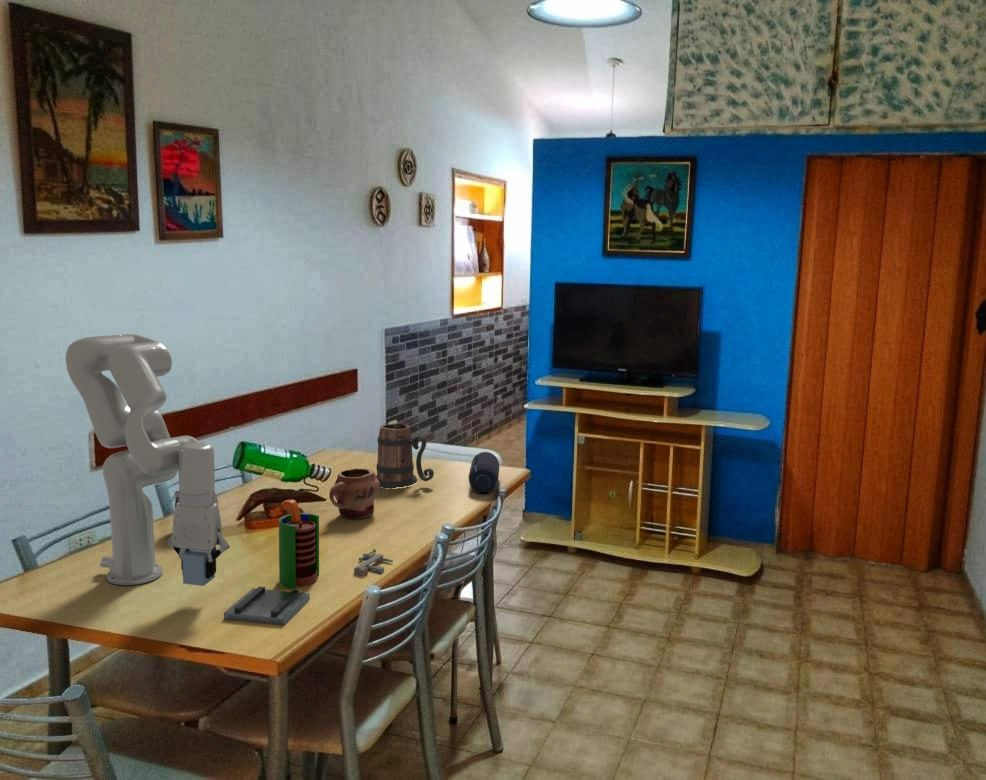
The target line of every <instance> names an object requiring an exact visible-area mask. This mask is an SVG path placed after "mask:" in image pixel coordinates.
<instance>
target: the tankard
mask: <svg viewBox="0 0 986 780" xmlns="http://www.w3.org/2000/svg"><path fill="white" fill-rule="evenodd" d="M410 427H411V426H410V425H408V424H407V423H394V424H392V423H391V424H383V425H380V427H379V433H378V437H377V463H376V474H375V475H376V477H377V480H378V481H379V483H380V487H383V488H382V489H384V488H396V487H404V486H409V485H412V484H414V483H416V482H417V479H418V478H419V479H420V480H421V481H423V482H428V481H430V480H433V478H434V475H435V473H434V470H433V469H432V468H426V469H424V470H423V468H422V456H423V454H424V452H425V449H426V447H427V439H426V437H425V436H424V435H418V436H414V437H413V436H412V433H411V428H410ZM419 440H420V441H419ZM419 442H421V444H420V443H419ZM419 444H420V445H421V446H420V449H419ZM413 449H414V450H415V451H416V450H418V452H417V454H416V455H417V456H416V459H415V461H416V462H415V467H416V472H417V475H418V478H417V476H416V475H415V474H414V470H415V467H414V462H413V460H414V459H413ZM427 476H428V477H427Z"/></svg>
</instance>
